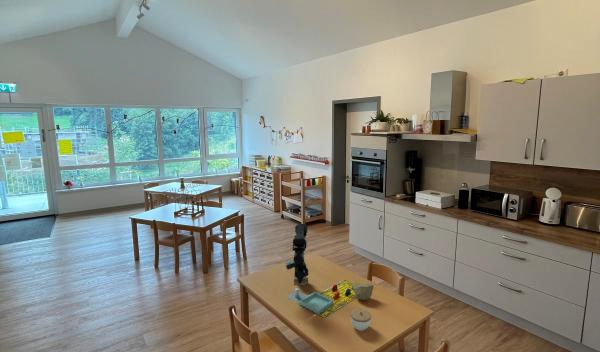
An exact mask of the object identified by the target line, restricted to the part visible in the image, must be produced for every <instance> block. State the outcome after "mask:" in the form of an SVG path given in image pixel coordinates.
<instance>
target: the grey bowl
mask: <svg viewBox="0 0 600 352" xmlns="http://www.w3.org/2000/svg"><path fill="white" fill-rule="evenodd" d="M350 290H351V291H353V292H354V295H355V297H356V299H357V300H360V301H367V300H369V299H371V296H372V295H373V290H374V284H371V283H360V282H357V281H356V282H353V283H352V285H351V288H350Z"/></svg>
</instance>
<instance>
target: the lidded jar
mask: <svg viewBox="0 0 600 352" xmlns="http://www.w3.org/2000/svg"><path fill="white" fill-rule="evenodd" d="M371 320H372V314H371V312H370V311H368V310H366V309H363V308H355V309H353V310H352V311H351V312H350V321H351V324H352V326H353V327H354V328H355V330H357V331H358V332H359V331H360V332H365V331H366V330H367V329H368V328H369V327H370V325H371Z"/></svg>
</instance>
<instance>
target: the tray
mask: <svg viewBox="0 0 600 352" xmlns="http://www.w3.org/2000/svg"><path fill="white" fill-rule="evenodd" d="M334 300H335V299H332V298H330V297H327V296H325V295H324V294H321V293H319V292H317V291H313V292H312V293H310V294H308V295H307V297H305V298H303V299H302V300H300V301H299V302H298V304H299V305H300V306H302V307H304V308H306V309H308V310H310V311H311V312H314V313H315V315H320V314H321V313H323V312H324V311H325V310H327V309H329V308H330V307H331V306H333V305H334V304H335V303H334V302H335V301H334Z"/></svg>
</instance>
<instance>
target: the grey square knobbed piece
mask: <svg viewBox="0 0 600 352" xmlns="http://www.w3.org/2000/svg"><path fill="white" fill-rule="evenodd" d="M307 296H308V295H307V294H304V293H303V292H301V291H300V288H298V287H296V288H295V289H294V292H292V293H290V294H288V295H287V296H286V298H287V299H289V300H291V301H293V302H294V303H297V304H299V301H300V300H302V299H303V298H305V297H307Z"/></svg>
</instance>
